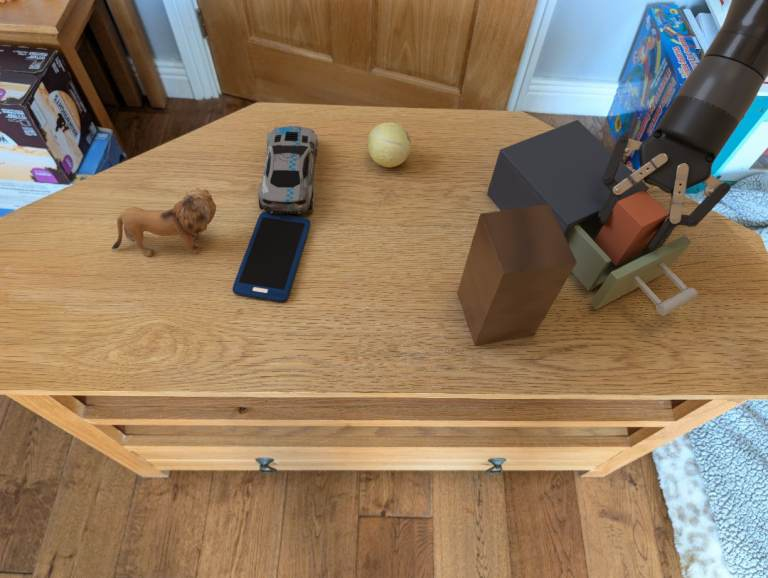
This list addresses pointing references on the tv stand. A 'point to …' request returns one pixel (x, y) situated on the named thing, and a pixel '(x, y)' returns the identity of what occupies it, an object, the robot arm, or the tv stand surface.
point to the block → (630, 227)
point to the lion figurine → (169, 221)
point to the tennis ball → (389, 144)
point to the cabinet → (557, 174)
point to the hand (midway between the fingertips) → (625, 236)
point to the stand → (513, 273)
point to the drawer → (625, 268)
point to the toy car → (289, 171)
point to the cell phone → (272, 257)
